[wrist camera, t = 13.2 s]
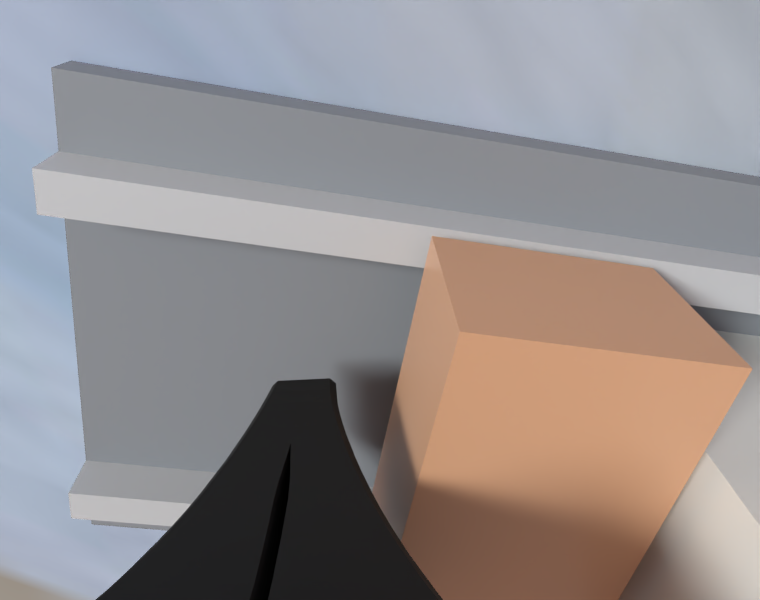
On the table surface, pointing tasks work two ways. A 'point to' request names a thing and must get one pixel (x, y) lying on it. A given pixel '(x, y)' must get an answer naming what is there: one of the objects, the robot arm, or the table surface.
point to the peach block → (545, 420)
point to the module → (714, 510)
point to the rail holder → (315, 257)
